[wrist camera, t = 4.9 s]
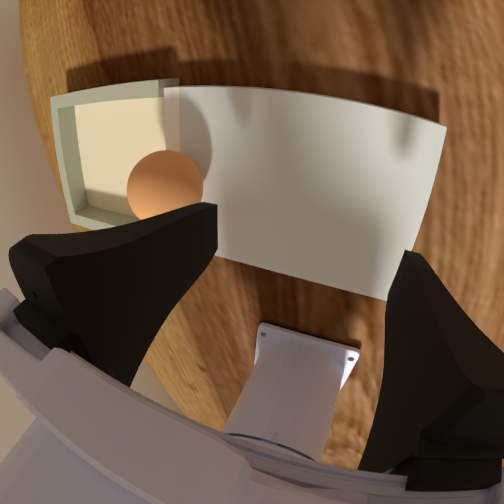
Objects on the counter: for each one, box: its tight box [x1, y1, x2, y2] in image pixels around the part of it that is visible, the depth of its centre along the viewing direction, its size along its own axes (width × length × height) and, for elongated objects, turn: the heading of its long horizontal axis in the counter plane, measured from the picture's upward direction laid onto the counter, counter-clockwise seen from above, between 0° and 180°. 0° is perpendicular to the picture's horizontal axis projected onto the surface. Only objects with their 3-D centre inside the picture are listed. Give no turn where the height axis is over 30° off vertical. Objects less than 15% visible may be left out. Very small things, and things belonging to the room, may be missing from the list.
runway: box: [164, 85, 447, 301], centre depth 15 cm, size 10×14×2 cm
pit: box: [50, 78, 180, 230], centre depth 18 cm, size 11×11×2 cm
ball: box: [127, 150, 203, 220], centre depth 15 cm, size 4×4×4 cm
